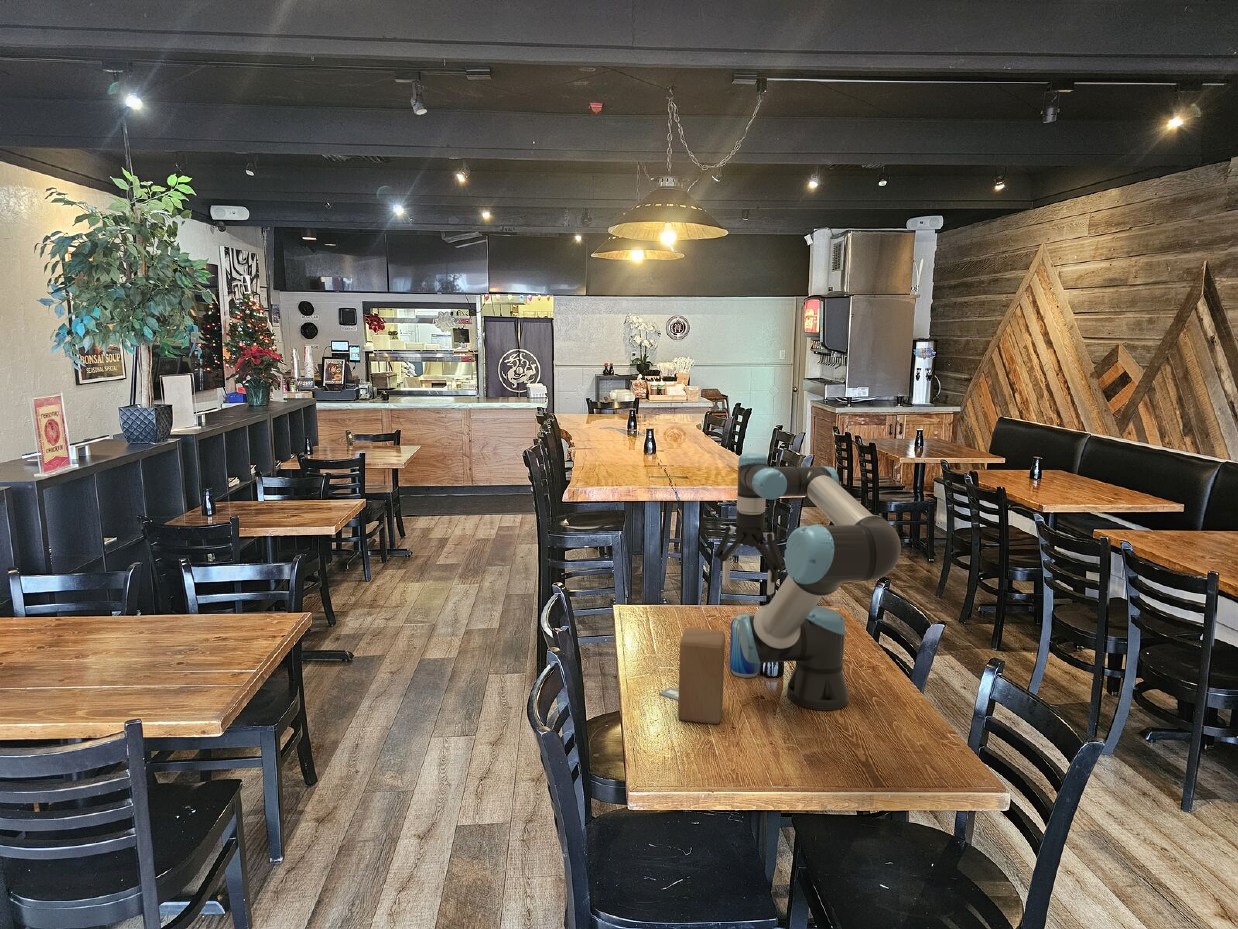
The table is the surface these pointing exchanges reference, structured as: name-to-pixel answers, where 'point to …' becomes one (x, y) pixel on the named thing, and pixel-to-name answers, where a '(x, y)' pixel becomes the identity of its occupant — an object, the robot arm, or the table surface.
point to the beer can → (740, 652)
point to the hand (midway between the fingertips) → (747, 588)
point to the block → (701, 675)
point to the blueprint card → (670, 693)
